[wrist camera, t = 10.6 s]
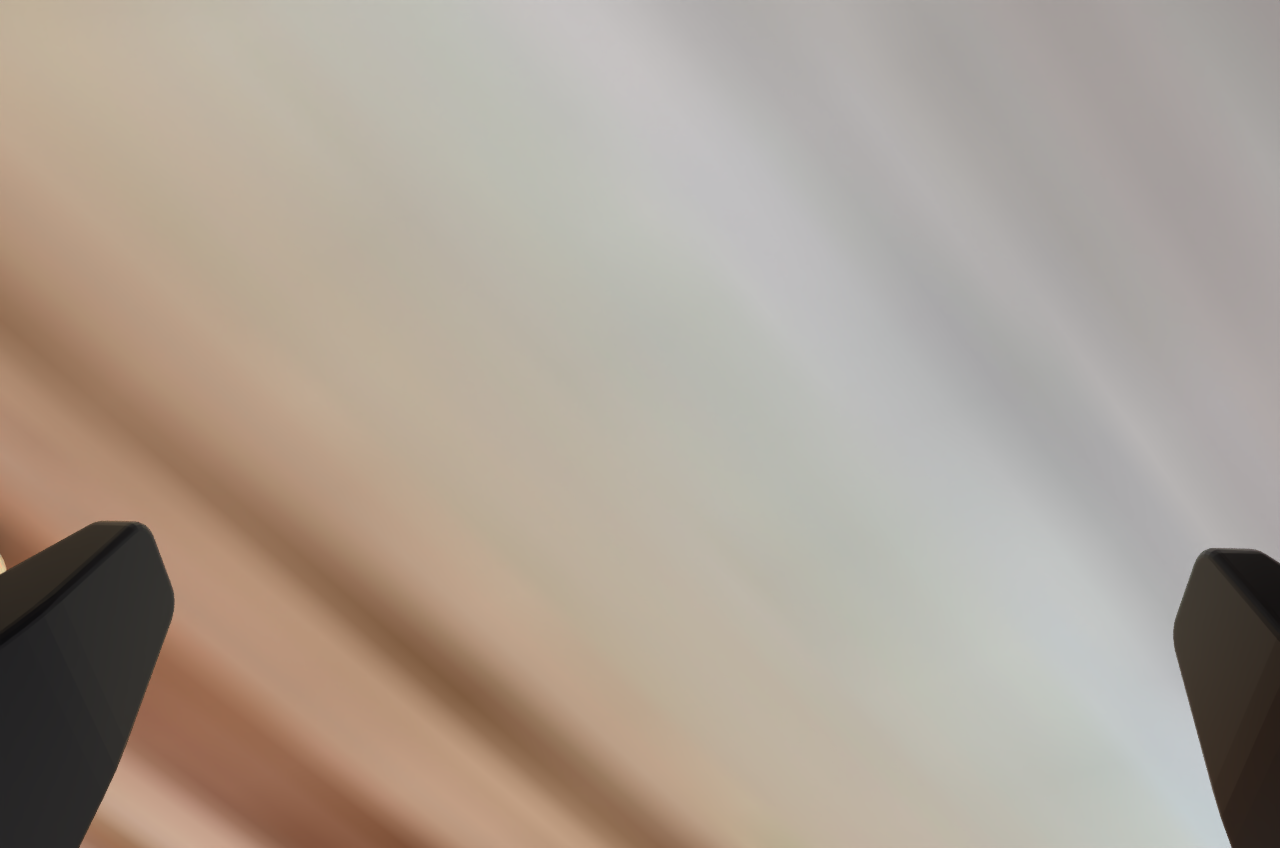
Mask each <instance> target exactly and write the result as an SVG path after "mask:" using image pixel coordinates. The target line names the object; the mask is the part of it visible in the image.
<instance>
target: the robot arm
mask: <svg viewBox="0 0 1280 848" xmlns="http://www.w3.org/2000/svg"><path fill="white" fill-rule="evenodd" d="M173 612H174V592H173V588H172V585H171V582H170V580H169V577H168V574H167V572H166V569H165V566H164V564H163V561H162V558H161V555H160V553H159V550H158V547H157V545H156V542H155V539H154V537H153V534H152V532H151V531H150V529H149V528H148V527H147V526H146V525H144V524H142V523H139V522H132V521H99V522H95V523H92V524H90V525H88V526H86V527H85V528H83V529H81V530H79V531H77V532H76V533H74V534H72V535H70V536H68V537H67V538H65V539H63V540H61V541H59V542H57V543H56V544H54V545H52V546H50V547H48V548H47V549H45V550H43V551H41V552H39V553H38V554H36V555H34V556H32V557H30V558H29V559H27V560H25V561H23V562H21V563H19V564H18V565H16V566H14V567H12V568H10V569H9V570H7V571H5V572H3V573H1V574H0V848H79V847H80V845H81V843H82V841H83V839H84V836H85V834H86V832H87V830H88V828H89V826H90V824H91V822H92V820H93V818H94V816H95V814H96V812H97V810H98V808H99V806H100V804H101V802H102V800H103V798H104V795H105V793H106V791H107V789H108V787H109V784H110V782H111V780H112V778H113V776H114V774H115V771H116V769H117V767H118V764H119V762H120V759H121V757H122V754H123V752H124V749H125V747H126V744H127V742H128V739H129V736H130V733H131V731H132V728H133V725H134V722H135V719H136V717H137V714H138V711H139V708H140V706H141V703H142V700H143V697H144V695H145V692H146V689H147V686H148V684H149V681H150V678H151V675H152V673H153V670H154V667H155V664H156V662H157V659H158V656H159V653H160V650H161V648H162V645H163V642H164V639H165V637H166V634H167V631H168V628H169V626H170V623H171V620H172V616H173ZM1173 640H1174V648H1175V652H1176V656H1177V660H1178V663H1179V667H1180V671H1181V675H1182V678H1183V682H1184V686H1185V689H1186V693H1187V697H1188V701H1189V704H1190V708H1191V712H1192V715H1193V719H1194V723H1195V727H1196V730H1197V734H1198V738H1199V741H1200V745H1201V749H1202V753H1203V756H1204V760H1205V764H1206V768H1207V771H1208V775H1209V779H1210V782H1211V786H1212V790H1213V793H1214V796H1215V800H1216V803H1217V806H1218V810H1219V813H1220V816H1221V819H1222V822H1223V825H1224V828H1225V830H1226V833H1227V836H1228V838H1229V841H1230V844H1231V847H1232V848H1280V563H1279V562H1277V561H1276V560H1274V559H1272V558H1271V557H1269V556H1268V555H1266V554H1264V553H1263V552H1261V551H1258V550H1254V549H1235V548H1210V549H1207V550H1205V551H1203V552H1202V553H1201V554H1200V555H1199V556H1198V557H1197V559H1196V562H1195V564H1194V566H1193V569H1192V572H1191V575H1190V578H1189V581H1188V584H1187V586H1186V589H1185V592H1184V595H1183V598H1182V601H1181V604H1180V607H1179V610H1178V612H1177V615H1176V619H1175V622H1174V630H1173Z"/></svg>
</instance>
